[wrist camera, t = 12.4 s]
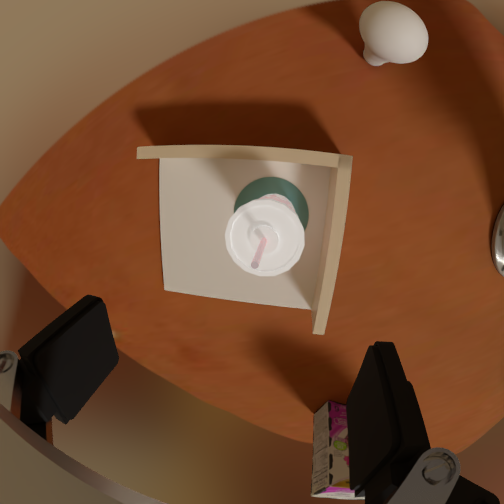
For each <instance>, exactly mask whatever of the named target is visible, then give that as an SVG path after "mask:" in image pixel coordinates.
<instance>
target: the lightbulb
mask: <svg viewBox="0 0 504 504" xmlns="http://www.w3.org/2000/svg"><path fill="white" fill-rule="evenodd" d="M359 29H360V34H361V37H362V39H363V41H364V43H365V48H364V51H363V56H364V59H365V60H366V61H367V62H368V63H369V64H371V65H373V66H380V65H382V64H384V63H387V62H393V63H399V64H404V63H410V62H413V61H416V60H417V59H419V58H420V57H421V56H422V55H423V54H424V52H425V51H426V49H427V46H428V32H427V29H426V27H425V25H424V23H423V21H422V20H421V18H420V17H419V16H418V15H417V14H416V13H415V12H414V11H412V10H411V9H410V8H408V7H406V6H405V5H402V4H400V3H397V2H392V1H380V2H376V3H374V4H372V5H370V6H368V7H367V8H366V9H365V10H364V11H363V13H362V15H361V17H360V21H359Z"/></svg>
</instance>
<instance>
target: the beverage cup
mask: <svg viewBox="0 0 504 504" xmlns="http://www.w3.org/2000/svg"><path fill="white" fill-rule="evenodd" d="M225 240H226V248H227V250H228V252H229V254H230V256H231V257H232V259H233V261H234V262H235V263H236V264H237V265H238V266H240V267H241V268H242V269H243V270H244V271H246V272H249V273H252V274H254V275H257V276H276V275H278V274H281V273H283V272H286V271H288V270H289V269H290V268H291V267H292V266H293V265H294V264H295V263H296V262H297V261H298V260H299V259H300V256H301V254H302V251H303V249H304V246H305V242H304V228H303V226H302V224H301V222H300V220H299V217H298V215H297V214H296V212H295V209H294V207H293V205H292V203H291V202H290V201H289V200H288V199H287V198H286V197H285V196H282V195H279V194H267V195H265V196H263V197H261V198H259V199H254V200H252V201H250V202H248V203H246V204H244V205H242V206H241V207H239V208H238V209H237V210H236V212H235V213H234V214H233V215H232V217H231V218H230V219H229V221H228V224H227V228H226V231H225Z"/></svg>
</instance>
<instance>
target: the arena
mask: <svg viewBox="0 0 504 504" xmlns="http://www.w3.org/2000/svg"><path fill="white" fill-rule="evenodd" d="M149 158H160V166H159V196H160V231H161V250H162V265H163V278H164V289H165V290H168V291H174V292H180V293H186V294H192V295H199V296H206V297H212V298H219V299H227V300H234V301H241V302H249V303H257V304H265V305H274V306H283V307H292V308H302V309H311V311H312V329H313V334H321V335H324V332H325V328H326V323H327V319H328V314H329V310H330V305H331V301H332V296H333V291H334V286H335V281H336V275H337V270H338V264H339V259H340V253H341V247H342V240H343V234H344V227H345V220H346V213H347V205H348V197H349V188H350V179H351V169H352V158H353V156H349V155H342V154H335V153H327V152H319V151H310V150H300V149H289V148H276V147H261V146H239V145H167V146H146V147H137V159H149ZM267 194H279V195H282V196H285V197H286V198H287V199H288V200H289V201H290V202H291V203H292V205H293V207H294V209H295V212H296V214H297V215H298V217H299V220H300V222H301V224H302V226H303V228H304V242H305V246H304V249H303V251H302V254H301V256H300V259H299V260H298V261H297V262H296V263H295V264H294V265H293V266H292V267H291V268H290V269H289V270H288V271H286V272H283V273H281V274H278V275H276V276H257V275H254V274H252V273H249V272H246V271H244V270H243V269H242V268H241V267H240V266H238V265H237V264H236V263H235V262H234V261H233V259H232V257H231V256H230V254H229V252H228V250H227V248H226V240H225V231H226V228H227V224H228V221H229V219H230V218H231V217H232V215H233V214H234V213H235V212H236V210H237V209H238V208H239V207H241V206H242V205H244V204H246V203H248V202H250V201H252V200H254V199H259V198H261V197H263V196H265V195H267Z"/></svg>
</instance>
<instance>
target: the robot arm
mask: <svg viewBox="0 0 504 504" xmlns="http://www.w3.org/2000/svg"><path fill="white" fill-rule="evenodd" d="M492 258H493V262H494V265H495V267H496V269H497V271H498V272H499V273H500V274H501V275H502V276H504V205H503V207H502V208H501V210H500V212H499V214H498V217H497V219H496V222H495V226H494V230H493V236H492ZM18 352H19V354H20V356H21V359H20V360H19V359H18V357H17V355H16V354H15V353H14V352H12V351H2V352H0V504H167V503H164V502H161V501H158V500H156V499H153V498H150V497H148V496H145V495H143V494H140V493H138V492H136V491H133V490H131V489H129V488H127V487H125V486H122V485H120V484H118V483H116V482H114V481H112V480H110V479H108V478H106V477H104V476H102V475H100V474H98V473H97V472H95V471H93V470H91V469H89V468H88V467H85V466H84V465H82V464H81V463H79V462H77V461H76V460H74V459H72V458H71V457H69V456H68V455H66V454H65V453H63V452H62V451H60V450H59V449H57V448H56V447H54V446H53V434H52V418H51V417H52V416H53V415H54V416H55V417H56V419H58V420H59V421H61V422H63V423H64V424H67V423H68V421H69V420H72V419H73V418H74V417H75V416H76V415H77V414H78V412H79V411H80V410H81V408H82V407H83V406H84V405H85V403H86V402H87V401H88V400H89V398H90V397H91V396H92V395H93V393H94V392H95V391H96V390H97V388H98V387H99V386H100V385H101V383H102V382H103V381H104V379H105V378H106V377H107V376H108V375H109V373H110V372H111V371H112V370H113V369H114V367H115V366H116V365H117V363H118V360H119V356H118V352H117V349H116V345H115V342H114V338H113V334H112V330H111V326H110V322H109V318H108V314H107V309H106V305H105V303H103V300H102V299H101V298H100V297H96V296H92V295H86V296H85V297H83V298H82V299H81V300H79V301H78V302H77V303H75V304H74V305H73V306H72V307H70V308H69V309H68V310H67V311H65V312H64V313H63V314H61V315H60V316H59V317H58V318H56V319H55V320H54V321H53V322H52V323H50V324H49V325H48V326H46V327H45V328H44V329H43V330H42V331H40V332H39V333H38V334H37V335H35V336H34V337H33V338H32V339H31V340H30V341H28V342H27V343H26V344H25V345H24V346H22V347H21V348H20V349H19V350H18ZM346 414H347V428H348V447H349V486H350V490H355V497H365V504H500V502H499V499H498V498H497V497H496V496H495V495H494V494H493V493H491V492H489V491H487V490H485V489H484V488H482V487H480V486H478V485H476V484H474V483H472V482H471V481H469V480H467V479H465V478H464V477H462V476H460V475H459V474H460V463H459V460H458V458H457V457H456V455H455V454H454V453H453V452H451V451H450V450H448V449H445V448H432V449H431V447H430V443H429V440H428V436H427V432H426V428H425V425H424V421H423V418H422V414H421V411H420V408H419V404H418V401H417V398H416V395H415V392H414V389H413V386H412V384H411V383H410V382H409V381H407V379H406V376H405V373H404V370H403V368H402V365H401V362H400V359H399V356H398V353H397V351H396V348H395V345H394V343H393V342H379V341H377V342H375V343H374V346H369V347H368V350H367V352H366V355H365V358H364V360H363V363H362V366H361V368H360V371H359V373H358V376H357V378H356V381H355V383H354V385H353V388H352V390H351V392H350V395H349V397H348V399H347V404H346Z"/></svg>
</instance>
